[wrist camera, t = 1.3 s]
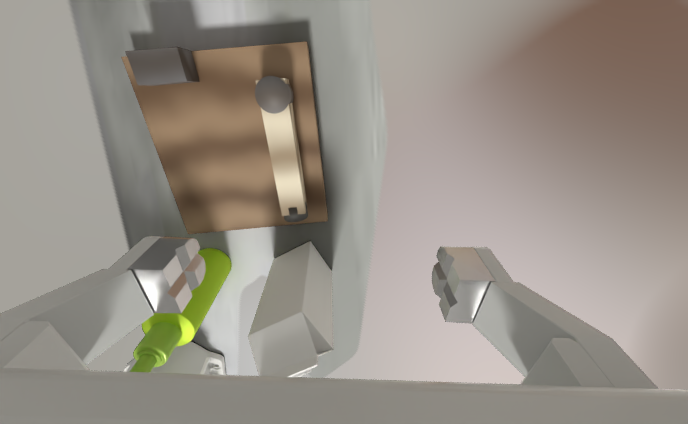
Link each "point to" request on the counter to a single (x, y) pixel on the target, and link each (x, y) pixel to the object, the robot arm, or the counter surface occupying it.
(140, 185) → the counter surface
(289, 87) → the folding leg
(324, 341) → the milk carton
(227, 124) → the wooden tray
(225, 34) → the counter surface
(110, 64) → the counter surface
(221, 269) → the soap dispenser
